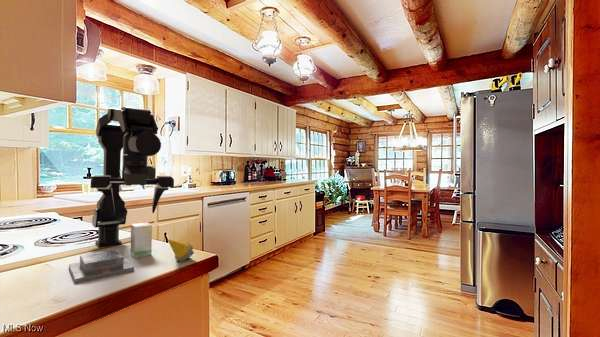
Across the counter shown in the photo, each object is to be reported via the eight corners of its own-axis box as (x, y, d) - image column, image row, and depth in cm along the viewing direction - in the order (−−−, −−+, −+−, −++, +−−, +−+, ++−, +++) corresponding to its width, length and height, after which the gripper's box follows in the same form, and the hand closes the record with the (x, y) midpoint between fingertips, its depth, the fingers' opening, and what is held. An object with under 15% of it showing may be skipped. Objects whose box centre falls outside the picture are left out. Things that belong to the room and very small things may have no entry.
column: (130, 253, 86) (130, 224, 86) (146, 251, 90) (147, 222, 89) (134, 257, 83) (135, 226, 83) (151, 254, 86) (152, 225, 86)
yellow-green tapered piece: (197, 262, 82) (173, 244, 76) (181, 268, 83) (157, 250, 77) (200, 247, 86) (178, 228, 80) (185, 253, 87) (162, 235, 82)
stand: (69, 268, 74) (69, 254, 74) (122, 258, 82) (122, 246, 82) (75, 283, 65) (75, 268, 65) (134, 270, 74) (134, 257, 74)
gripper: (89, 153, 65) (87, 222, 65) (178, 157, 75) (176, 217, 75) (93, 153, 74) (91, 213, 75) (171, 156, 84) (170, 209, 84)
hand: (133, 213), depth 77 cm, fingers open, 9 cm apart
